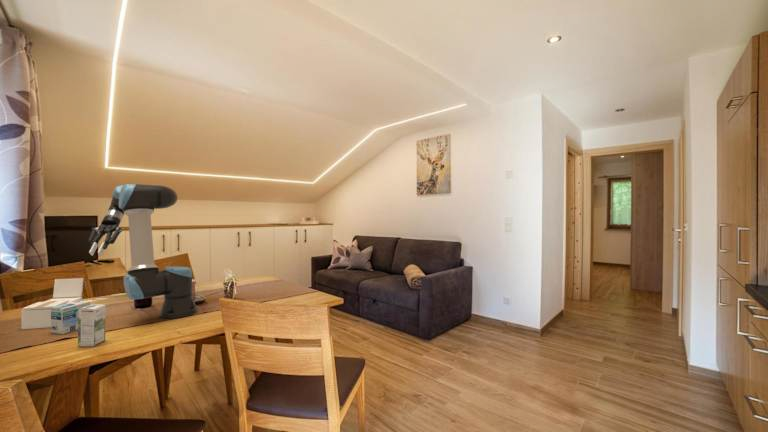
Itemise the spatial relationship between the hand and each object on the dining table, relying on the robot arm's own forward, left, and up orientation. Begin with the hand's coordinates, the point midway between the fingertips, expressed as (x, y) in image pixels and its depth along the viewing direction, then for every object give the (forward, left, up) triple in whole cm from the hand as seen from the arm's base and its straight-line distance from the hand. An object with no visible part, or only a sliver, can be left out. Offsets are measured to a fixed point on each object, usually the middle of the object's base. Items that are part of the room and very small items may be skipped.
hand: (95, 253), depth 165 cm
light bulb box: (-29, +10, -28) cm, 42 cm away
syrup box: (-54, +5, -28) cm, 61 cm away
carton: (-11, +15, -28) cm, 34 cm away
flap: (-2, +10, -15) cm, 19 cm away
